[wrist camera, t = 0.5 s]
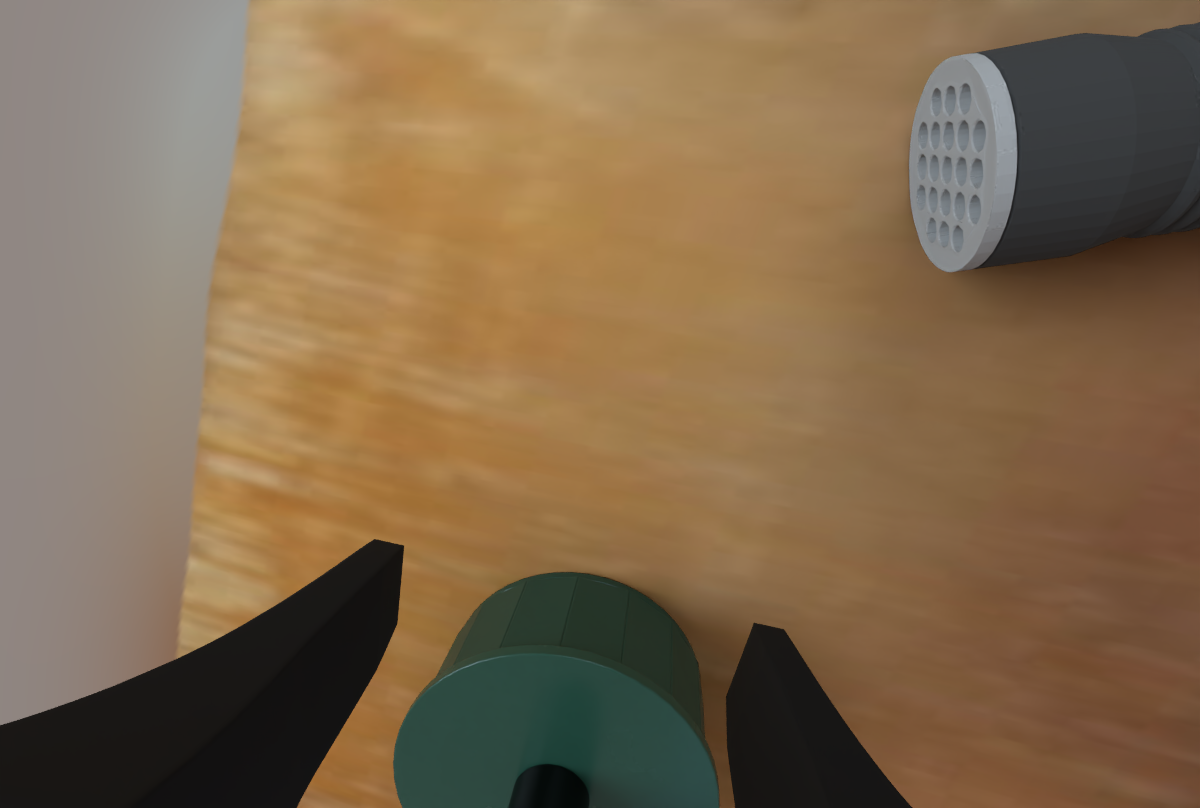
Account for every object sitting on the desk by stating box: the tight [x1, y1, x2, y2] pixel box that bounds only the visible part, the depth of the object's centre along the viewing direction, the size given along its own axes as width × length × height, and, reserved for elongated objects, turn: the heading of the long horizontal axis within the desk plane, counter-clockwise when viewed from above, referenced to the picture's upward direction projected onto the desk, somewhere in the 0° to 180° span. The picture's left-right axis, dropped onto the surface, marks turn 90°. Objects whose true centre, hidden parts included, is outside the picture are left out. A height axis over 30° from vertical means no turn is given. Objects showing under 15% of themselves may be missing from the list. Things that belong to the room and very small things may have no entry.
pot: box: [436, 572, 705, 738], centre depth 24 cm, size 10×10×5 cm
